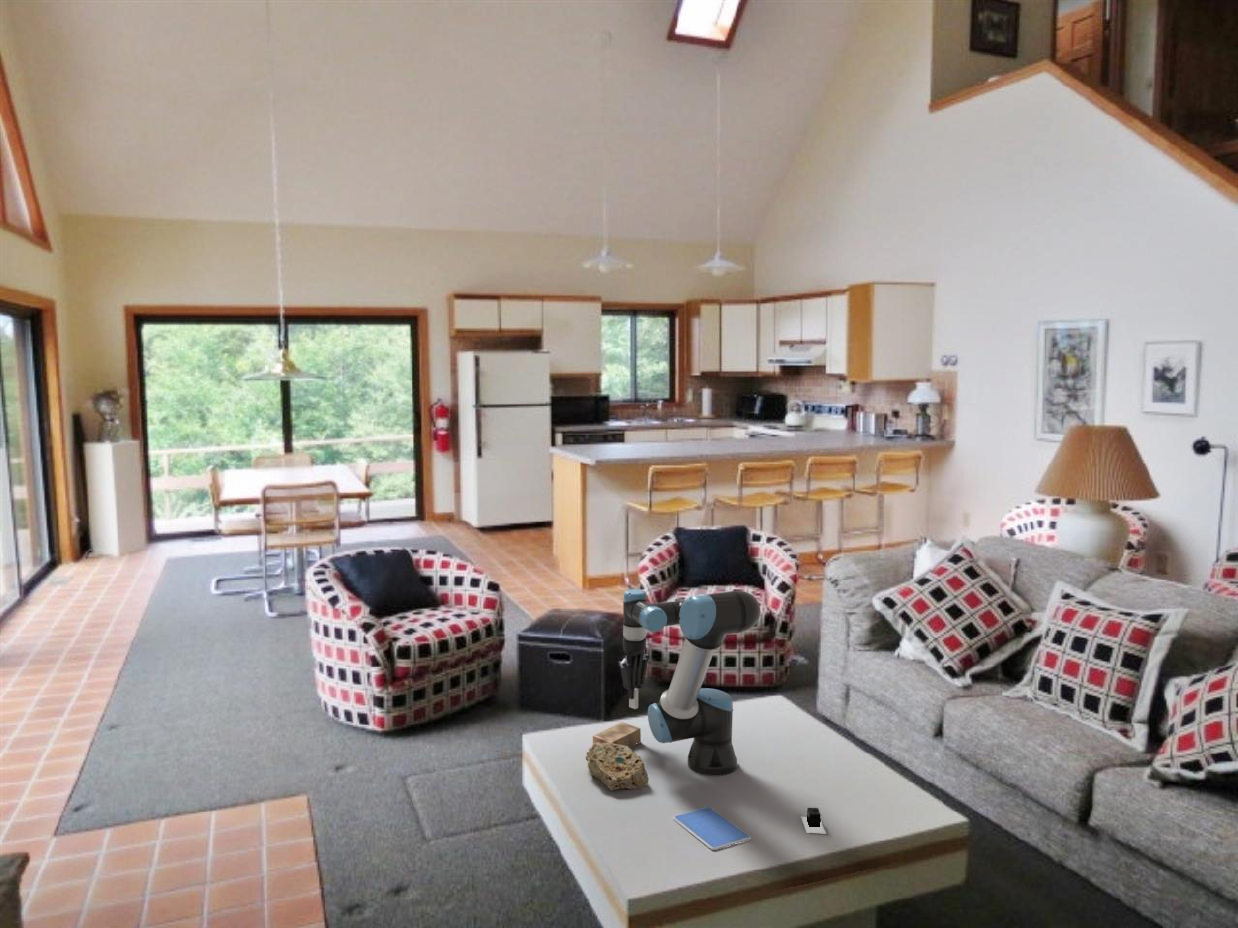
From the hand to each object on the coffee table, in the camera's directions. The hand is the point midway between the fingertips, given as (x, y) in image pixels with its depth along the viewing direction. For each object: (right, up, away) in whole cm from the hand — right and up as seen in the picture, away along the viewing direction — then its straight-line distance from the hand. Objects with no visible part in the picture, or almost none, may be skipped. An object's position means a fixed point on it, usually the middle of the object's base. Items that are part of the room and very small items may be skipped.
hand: (633, 707), depth 301 cm
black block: (+47, -18, -54) cm, 74 cm away
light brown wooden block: (-1, -8, 0) cm, 8 cm away
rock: (-6, -14, -27) cm, 31 cm away
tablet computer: (+20, -18, -56) cm, 62 cm away
